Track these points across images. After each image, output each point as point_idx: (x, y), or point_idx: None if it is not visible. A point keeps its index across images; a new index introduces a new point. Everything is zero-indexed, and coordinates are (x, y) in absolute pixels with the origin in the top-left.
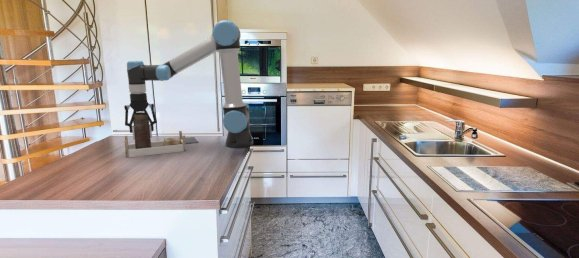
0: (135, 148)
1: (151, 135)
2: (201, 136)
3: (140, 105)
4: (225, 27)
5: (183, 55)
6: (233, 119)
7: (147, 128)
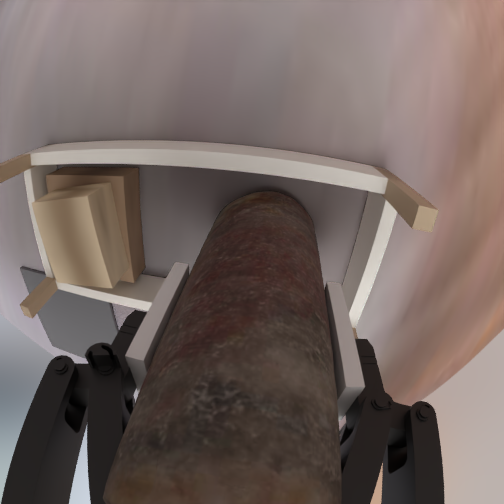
0: None
1: (171, 275)
2: (36, 339)
3: None
4: None
5: None
6: None
7: (177, 320)
